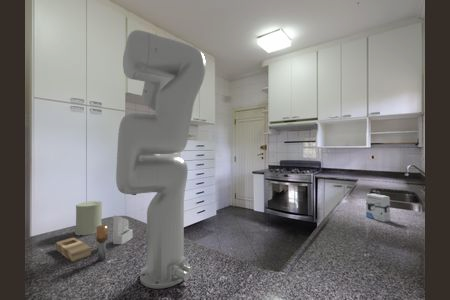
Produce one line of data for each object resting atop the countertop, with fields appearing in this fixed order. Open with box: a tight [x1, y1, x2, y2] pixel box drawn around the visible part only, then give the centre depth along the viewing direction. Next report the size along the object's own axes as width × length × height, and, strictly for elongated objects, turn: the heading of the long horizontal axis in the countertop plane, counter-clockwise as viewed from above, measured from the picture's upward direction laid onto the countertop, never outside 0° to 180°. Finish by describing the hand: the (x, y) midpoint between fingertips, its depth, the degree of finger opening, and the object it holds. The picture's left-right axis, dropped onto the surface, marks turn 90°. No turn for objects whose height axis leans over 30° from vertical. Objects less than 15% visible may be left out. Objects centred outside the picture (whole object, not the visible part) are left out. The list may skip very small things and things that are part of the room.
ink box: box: [365, 193, 391, 223], centre depth 99 cm, size 8×5×12 cm, turn 17°
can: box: [74, 200, 103, 236], centre depth 83 cm, size 9×9×12 cm
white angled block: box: [112, 215, 133, 245], centre depth 73 cm, size 4×10×9 cm
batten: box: [55, 236, 92, 263], centre depth 65 cm, size 14×5×2 cm, turn 56°
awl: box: [95, 224, 109, 262], centre depth 60 cm, size 3×3×10 cm
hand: (144, 192), depth 82 cm, fingers open, 9 cm apart
